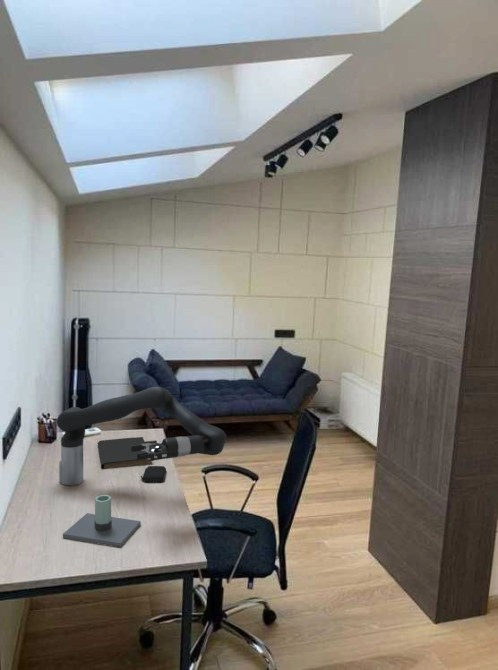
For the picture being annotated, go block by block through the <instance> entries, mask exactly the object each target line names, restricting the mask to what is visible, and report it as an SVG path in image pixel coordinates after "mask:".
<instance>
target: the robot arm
mask: <svg viewBox="0 0 498 670" xmlns="http://www.w3.org/2000/svg"><path fill="white" fill-rule="evenodd" d="M145 409H154V410H157V411H162V412H163V413H166V414H167V415H169V416H170V417H172V418H173V419H175V421H176V422H178V423H179V425H180V426H182V428H183V429H184V430H186V431H187V432H188V433H189V434H191V435H187V436H174V437H173V436H172V437H166V438H163V440H162V442H161V443H159V442H157V441H158V440H146V441H145V442H141V445H133V446H131V451H132V452H136V451H146V452H143V453H137V459H138V460H140V459H147V458H148V459H151V461H153V462H154V461H159V460H164V459H166V460H167V459H174V458H182V457H186V456H189V455H191V456H192V455H197V454H199V455H200V454H201V455H207V456H217V455H219V454H220V453H222V452H223V449H224V447H225V443H226V441H227V434H226V433H225V431H224V430H223V429H221V428H219V427H217V426H215V425H212V424H209V423H207V422H206V421H204V420H203V419H202V418H200V417H199V416H197V415H196V414H195V413H193V412H192V411H190V410H189V408H186V407H185V406H184V405H183V404H182V403H180V401H178V400H177V398H176V397H175V396H174V395H173V394H172V393H171V391H170V390H169V389H166V388H164V387H162V386H151V387H148V388H146V389H144V390H140V391H138V392H135V393H130V394H126V395H121V396H118V397H116V396H115V397H112V398H108V399H105V400H102V401H99V402H97V403H94V404H91V405H89V406H87V407H85V408H80V407H77V406H72V407H69V408H68V409H66V410H63V411H62V412H61V413H60V414H59V415H57V416H58V417H57V419H56V425H57V428H59V430H61V431H63V432H64V434H63V435H62V437H61V439H60V453H61V454H60V457H61V458H60V459H61V460H60V461H59V464H58V468H59V469H58V470H59V471H58V472H59V473H58V474H59V475H58V477H59V479H58V480H59V484H61V485H63V484H64V486H68V485H72V486H77V485H80V484H81V483H83V482H84V439H85V437H86V427H87V426H90V425H95V424H101V423H106V422H111V421H116V420H120V419H123V418H125V417H128V416H129V415H130V414H132V413H134V412H137V411H140V410H145ZM204 437H207V439H206V441H204V439H203V438H204ZM144 446H145V447H144Z"/></svg>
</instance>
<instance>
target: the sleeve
mask: <svg viewBox="0 0 498 670" xmlns="http://www.w3.org/2000/svg"><path fill="white" fill-rule="evenodd" d="M94 514H95V529H96V531H106V530H109V529H110V528H111V527H112V520H111V517H112V497H111V496H110V495H108V494H101V495H98V496H96V497H95V498H94Z"/></svg>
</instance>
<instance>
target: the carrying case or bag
mask: <svg viewBox="0 0 498 670" xmlns="http://www.w3.org/2000/svg"><path fill="white" fill-rule="evenodd" d="M166 472H167V468H166V467H165V466H164V465H147V467H146V468H145V470H144V473H143V474H142V475H141V476H140V479H141V480H142V481H143V482H144V483H162V482H163V481H164V480H165V477H166Z"/></svg>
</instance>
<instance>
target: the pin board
mask: <svg viewBox="0 0 498 670" xmlns="http://www.w3.org/2000/svg"><path fill="white" fill-rule="evenodd" d="M111 520H112V527H111V528H110V529H109V530H106V531H96V529H95V513H89V512H87V513H85V514H84V515H83V516H82V517H81V518H79V520H77V521H76V522H75V523H74V524H72V525H71V526H70V527H69V528H68V529H67V530H65V532H63V533H62V539H66V538H70V539H69V540H72V539H75V540H74V541H80V542H85V543H92V544H97V543H99V544H98V545H103V544H106V545H105V546H109V545H112V546H111V547H115V546H120V547H119V548H122V547H123V545H124V544H125V543H126V542H127V541H126V540H127V539H128V540H129V539H130V537H131V536H132V535H133V534H134V533H135V532H136V531H137V530H136V529H139V528H140V526H141V520H134V519H128V518H123V517H122V518H121V517H116V516H111ZM125 541H126V542H125ZM123 543H124V544H123Z"/></svg>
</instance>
